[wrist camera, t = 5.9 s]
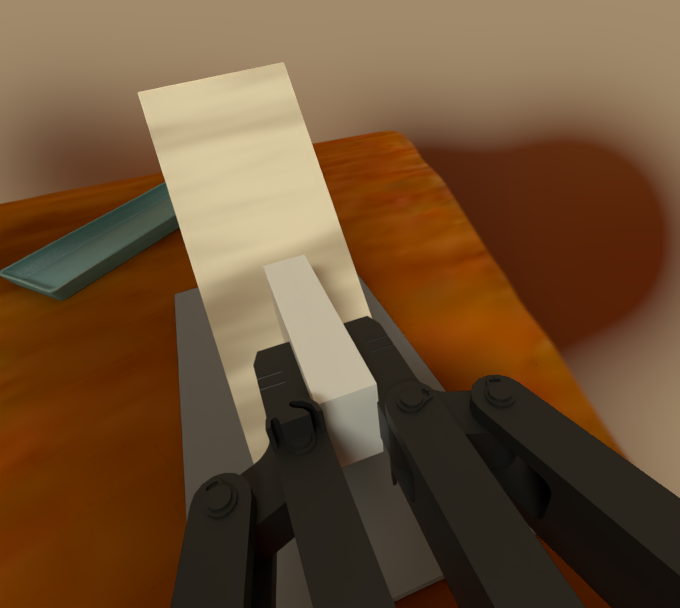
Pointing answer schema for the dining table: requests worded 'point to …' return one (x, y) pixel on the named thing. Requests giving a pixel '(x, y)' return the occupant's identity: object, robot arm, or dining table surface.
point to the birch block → (248, 212)
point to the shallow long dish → (96, 246)
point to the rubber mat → (234, 457)
